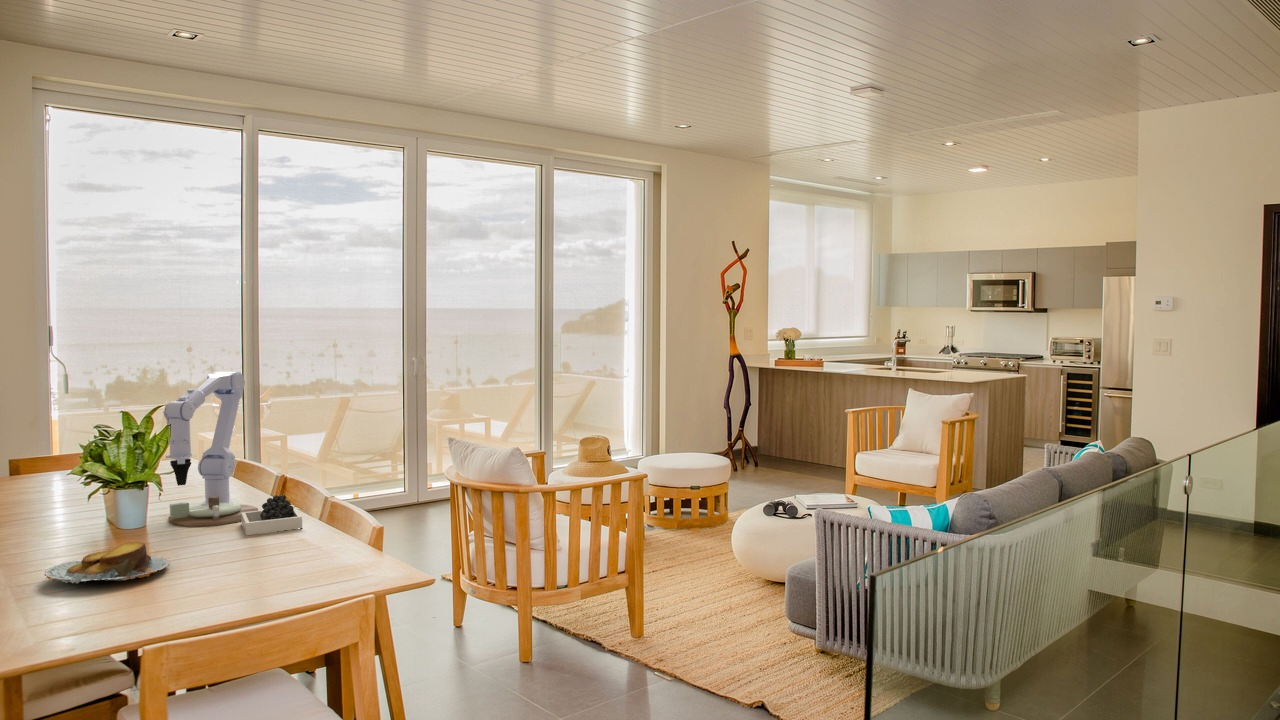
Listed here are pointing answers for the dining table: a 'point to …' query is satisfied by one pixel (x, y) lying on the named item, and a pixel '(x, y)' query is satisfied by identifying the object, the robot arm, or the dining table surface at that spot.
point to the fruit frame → (269, 523)
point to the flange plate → (201, 509)
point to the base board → (208, 521)
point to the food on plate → (109, 565)
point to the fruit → (276, 508)
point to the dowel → (215, 513)
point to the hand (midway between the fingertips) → (181, 483)
